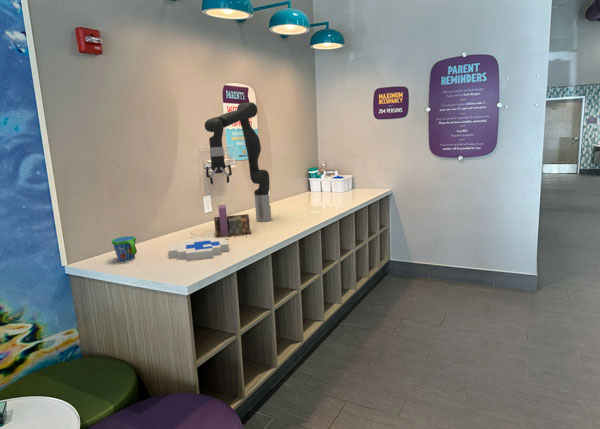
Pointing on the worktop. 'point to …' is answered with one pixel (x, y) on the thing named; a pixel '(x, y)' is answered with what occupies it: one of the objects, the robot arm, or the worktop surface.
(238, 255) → the worktop surface
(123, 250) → the snack cup
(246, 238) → the worktop surface
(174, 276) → the worktop surface
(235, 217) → the camouflage pattern block
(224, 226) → the plum book
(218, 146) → the robot arm
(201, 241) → the pixel art tile
